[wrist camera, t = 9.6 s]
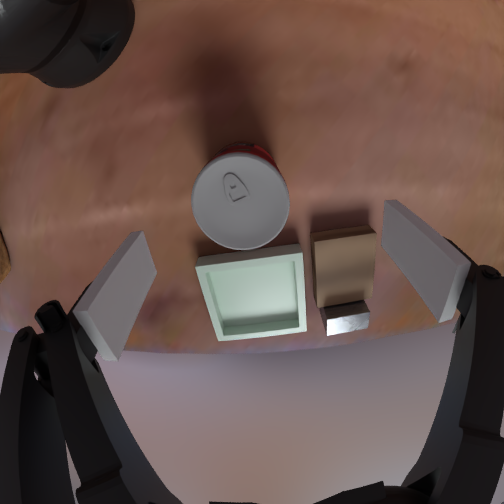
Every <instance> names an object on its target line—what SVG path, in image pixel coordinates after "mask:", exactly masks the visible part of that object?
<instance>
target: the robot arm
mask: <svg viewBox="0 0 504 504" xmlns="http://www.w3.org/2000/svg"><path fill="white" fill-rule="evenodd" d="M134 19H135V12H134V6H133V3H132V1H131V0H0V74H3V73H29V74H31V75H32V76H34V77H36V78H38V79H40V80H41V81H42V82H43V83H45V84H46V85H48V86H51V87H55V88H75V87H79V86H82V85H84V84H87V83H89V82H91V81H92V80H94V79H95V78H97V77H98V76H100V75H101V74H102V73H103V72H105V71H106V70H107V69H108V68H109V67H110V66H111V65H112V64H113V62H114V61H115V60H116V59H117V58H118V56H119V55H120V54H121V52H122V51H123V49H124V47H125V46H126V44H127V42H128V40H129V38H130V35H131V32H132V29H133V25H134ZM381 246H382V247H383V248H384V250H385V251H386V252H387V253H388V255H389V256H390V257H391V258H392V260H393V261H394V262H395V263H396V265H397V266H398V267H399V268H400V270H401V271H402V272H403V274H404V275H405V276H406V278H407V279H408V280H409V282H410V283H411V284H412V286H413V287H414V288H415V290H416V291H417V292H418V294H419V295H420V296H421V298H422V299H423V301H424V302H425V304H426V305H427V306H428V308H429V309H430V311H431V312H432V314H433V315H434V317H435V318H436V320H437V321H438V323H440V322H443V321H446V320H450V319H452V317H453V315H454V312H455V310H456V307H457V309H458V310H459V311H460V313H461V314H460V316H459V318H458V321H457V323H456V325H455V328H454V330H453V333H455V331H456V336H455V342H454V347H453V353H452V358H451V362H450V367H449V371H448V375H447V379H446V383H445V387H444V390H443V394H442V397H441V401H440V404H439V407H438V410H437V413H436V416H435V419H434V422H433V425H432V427H431V430H430V433H429V435H428V438H427V441H426V443H425V446H424V448H423V450H422V452H421V455H420V457H419V459H418V461H417V463H416V464H415V465H414V467H413V468H412V469H411V471H410V472H409V473H408V475H407V476H406V478H405V480H404V482H403V483H402V485H401V486H384V483H383V481H380V482H377V483H374V484H370V485H367V486H363V487H360V488H356V489H352V490H347V491H343V492H341V493H338V494H336V495H334V496H331V497H329V498H327V499H324V500H322V501H319V502H316V503H314V504H490V503H491V501H492V498H493V495H494V492H495V490H496V487H497V484H498V481H499V477H500V474H501V471H502V467H503V464H504V438H503V437H501V436H500V428H501V423H502V417H503V410H504V277H502V276H501V274H500V273H499V272H498V270H496V269H495V268H493V267H491V266H488V265H479V266H478V265H477V264H476V263H475V262H474V261H473V260H472V259H471V258H470V257H469V256H468V255H467V254H465V253H464V252H463V251H462V250H461V249H460V248H458V246H457V245H455V244H454V243H453V242H452V241H451V240H449V239H447V238H445V237H443V236H441V235H440V234H439V233H438V232H437V231H435V230H434V229H433V228H432V227H431V226H429V225H428V224H427V223H426V222H424V221H423V220H422V219H421V218H419V217H418V216H417V215H416V214H414V213H413V212H412V211H411V210H409V209H408V208H407V207H405V206H404V205H403V204H401V203H400V202H399V201H397V200H385V201H384V217H383V230H382V241H381ZM156 274H157V271H156V268H155V266H154V263H153V260H152V257H151V254H150V251H149V248H148V245H147V242H146V239H145V236H144V233H143V231H137V232H131V233H130V234H129V236H128V237H127V238H126V239H125V240H124V242H123V243H122V244H121V245H120V247H119V248H118V249H117V250H116V252H115V253H114V254H113V256H112V257H111V258H110V259H109V261H108V262H107V263H106V265H105V266H104V267H103V269H102V270H101V271H100V273H99V274H98V275H97V277H96V278H95V280H94V281H92V282H91V283H90V284H89V285H88V286H87V287H86V288H85V290H84V291H83V292H82V295H80V297H79V298H78V300H77V301H76V302H75V304H74V305H73V307H72V308H71V310H70V311H69V313H68V314H67V315H66V313H65V312H64V310H63V308H62V306H61V305H60V303H59V301H57V300H52V301H49V302H47V303H45V304H44V305H42V306H41V307H40V308H39V309H38V310H37V312H36V313H35V317H34V318H35V319H36V321H37V322H38V324H39V325H40V327H41V328H42V330H43V331H44V333H41V334H36V332H35V331H34V329H33V328H32V327H30V326H28V327H24V328H22V329H20V330H19V331H18V332H17V334H16V335H15V337H14V339H13V342H12V345H11V350H10V353H9V356H8V360H7V365H6V369H5V373H4V377H3V383H2V388H1V393H0V504H75V500H74V495H73V491H72V486H71V480H70V474H69V468H68V461H67V452H66V443H67V446H68V449H69V452H70V455H71V458H72V461H73V463H74V466H75V469H76V471H77V474H78V476H79V478H80V481H81V486H80V487H79V488H77V489H76V497H77V501H78V503H79V504H182V502H181V501H180V500H179V499H178V498H176V497H175V496H174V495H173V494H172V493H171V492H170V491H169V490H168V489H167V488H166V487H165V485H164V484H163V482H162V481H161V480H160V478H159V477H158V475H157V474H156V472H155V471H154V469H153V468H152V466H151V465H150V463H149V462H148V460H147V459H146V457H145V455H144V454H143V452H142V450H141V449H140V447H139V445H138V444H137V442H136V440H135V439H134V437H133V435H132V433H131V432H130V430H129V428H128V426H127V424H126V422H125V420H124V418H123V416H122V414H121V413H120V410H119V408H118V406H117V404H116V402H115V400H114V398H113V396H112V394H111V392H110V390H109V387H108V385H107V382H106V381H105V378H104V376H103V373H102V371H101V368H100V366H99V363H98V362H97V360H96V359H95V356H96V353H97V351H98V352H99V354H100V355H101V357H102V358H103V359H104V360H107V361H119V358H120V356H121V353H122V351H123V348H124V346H125V343H126V341H127V339H128V336H129V334H130V331H131V329H132V327H133V324H134V322H135V320H136V318H137V315H138V313H139V311H140V308H141V306H142V304H143V302H144V300H145V297H146V295H147V293H148V291H149V289H150V287H151V285H152V282H153V280H154V278H155V276H156ZM34 372H35V373H36V374H37V375H38V381H37V380H36V378H35V375H34ZM65 440H66V442H65ZM209 504H257V503H252V502H251V503H234V502H232V503H231V502H209ZM501 504H504V502H502V503H501Z"/></svg>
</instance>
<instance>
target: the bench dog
mask: <svg viewBox="0 0 504 504" xmlns="http://www.w3.org/2000/svg"><path fill="white" fill-rule="evenodd" d="M320 314H321V317H322V321H323V324H324V327H325V331H326V334H327V336H328V335H333V334H339V333H344V332H349V331H355V330H360V329H364V328H368V322H369V315H370V311H369V309H368V307H367V305H366V303H365V301H364V299H363V300H358V301H353V302H348V303H342V304H337V305H331V306H326V307H320Z"/></svg>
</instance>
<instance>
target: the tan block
mask: <svg viewBox="0 0 504 504" xmlns="http://www.w3.org/2000/svg"><path fill="white" fill-rule="evenodd" d="M376 236H377V233H376V232H375V231H374V230H373V229H372V228H371V226H370V225H364V226H356V227H349V228H342V229H335V230H327V231H320V232H313V233H310V238H311V252H312V269H313V289H314V299H315V302H316V305H317V308H320V307H326V306H331V305H337V304H342V303H348V302H353V301H358V300H363V299H368V298H372V290H373V280H374V269H375V255H376Z"/></svg>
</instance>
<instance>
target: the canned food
mask: <svg viewBox="0 0 504 504" xmlns="http://www.w3.org/2000/svg"><path fill="white" fill-rule="evenodd" d="M191 205H192V210H193V215H194V217H195V219H196V222H197V224H198V225H199V227H200V228H201V230H202V231H203V232H204V233H205V234H206V235H207V236H208V237H209V238H210V239H212V240H213V241H214V242H216V243H218V244H220V245H222V246H224V247H227V248H231V249H235V250H249V249H254V248H258V247H261V246H263V245H265V244H267V243H269V242H270V241H271V240H273V239H274V238H275V237H276V236H277V235H278V234H279V233H280V232H281V230H282V229H283V227H284V225H285V223H286V221H287V218H288V214H289V207H290V201H289V192H288V189H287V185H286V183H285V180H284V178H283V177H282V175H281V173H280V171H279V169H278V167H277V166H276V164H275V162H274V160H273V158H272V157H271V156H270V155H269V153H268V152H266V151H265V150H264V149H263V148H261V147H259V146H257V145H255V144H252V143H247V142H239V143H233V144H230V145H228V146H226V147H224V148H223V149H222V150H220V151H219V152H218V153H217V154H216V155H215V156H214V157H213V158H212V159H211V160H210V161H209V162H208V163H207V164H206V165H205V166H204V168H203V169H202V170H201V172H200V173H199V175H198V176H197V178H196V181H195V183H194V186H193V190H192V195H191Z"/></svg>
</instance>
